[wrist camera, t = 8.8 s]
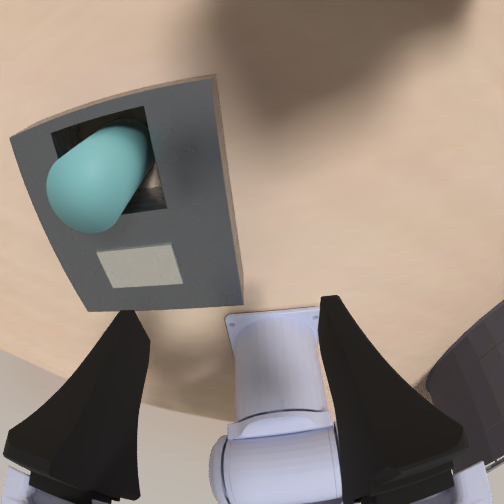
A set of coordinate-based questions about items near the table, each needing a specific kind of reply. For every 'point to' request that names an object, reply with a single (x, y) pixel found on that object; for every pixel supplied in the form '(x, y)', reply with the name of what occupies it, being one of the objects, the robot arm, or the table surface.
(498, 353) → the ventilation fan
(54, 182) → the barrel peg
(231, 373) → the table surface
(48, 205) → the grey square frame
